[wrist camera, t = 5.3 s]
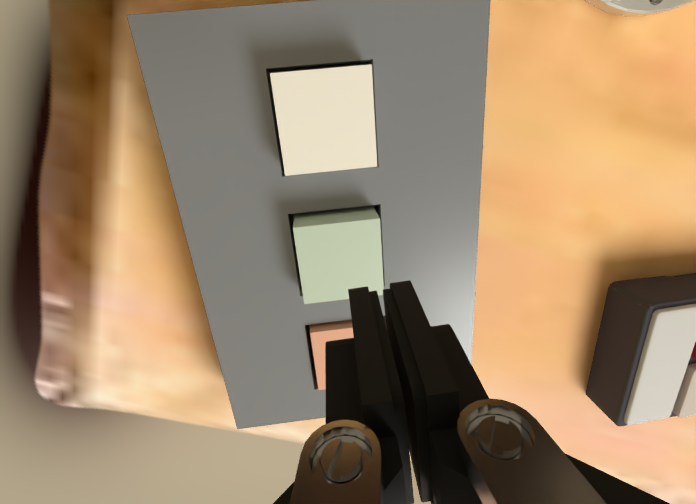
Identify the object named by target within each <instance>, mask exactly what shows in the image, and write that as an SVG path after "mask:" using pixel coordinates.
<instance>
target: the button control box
mask: <svg viewBox="0 0 696 504" xmlns="http://www.w3.org/2000/svg"><path fill="white" fill-rule="evenodd" d="M586 395H587V396H588V397H589V398H590V399H591V400H592V401H593V402H594V403H595V404H596V405H597V406H598V407H599V408H600V409H601V410H602V411H603V412H604V413H605V414H606V415H607V416H608V417H609V418H610V419H611V420H612V421H613V422H614V423H615V424H616V425H617V426H625V425H633V424H638V423H644V422H649V421H654V420H660V419H665V418H668V417H673V416H678V417H680V418H681V417H687V416H693V415H696V274H690V275H683V276H676V277H666V276H661V277H652V278H643V279H634V280H626V281H618V282H613V283H612V284H610V286H609V288H608V292H607V296H606V301H605V306H604V311H603V315H602V320H601V325H600V329H599V334H598V339H597V343H596V348H595V353H594V357H593V362H592V367H591V372H590V376H589V381H588V386H587V390H586Z"/></svg>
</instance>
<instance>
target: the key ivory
mask: <svg viewBox="0 0 696 504" xmlns="http://www.w3.org/2000/svg"><path fill="white" fill-rule="evenodd" d="M270 78H271V84H272V91H273V98H274V104H275V111H276V118H277V125H278V131H279V138H280V145H281V151H282V158H283V165H284V172H285V176H289V175H299V174H309V173H319V172H329V171H339V170H349V169H358V168H368V167H377V152H376V134H375V115H374V96H373V78H372V64H370V65H358V66H347V67H335V68H324V69H313V70H301V71H290V72H278V73H270Z"/></svg>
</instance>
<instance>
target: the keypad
mask: <svg viewBox="0 0 696 504" xmlns="http://www.w3.org/2000/svg"><path fill="white" fill-rule="evenodd" d="M489 17H490V0H312V1H300V2H287V3H274V4H261V5H249V6H236V7H223V8H210V9H198V10H185V11H172V12H160V13H147V14H134V15H127V18H128V22H129V25H130V29H131V33H132V37H133V40H134V44H135V48H136V52H137V55H138V59H139V63H140V67H141V70H142V74H143V78H144V82H145V85H146V89H147V93H148V97H149V100H150V104H151V108H152V112H153V115H154V119H155V123H156V127H157V130H158V134H159V138H160V141H161V145H162V149H163V153H164V156H165V160H166V164H167V168H168V171H169V175H170V179H171V183H172V186H173V190H174V194H175V198H176V201H177V205H178V209H179V213H180V216H181V220H182V224H183V228H184V231H185V235H186V239H187V243H188V246H189V250H190V254H191V257H192V261H193V265H194V269H195V272H196V276H197V280H198V284H199V287H200V291H201V295H202V299H203V302H204V306H205V310H206V314H207V317H208V321H209V325H210V329H211V332H212V336H213V340H214V344H215V347H216V351H217V355H218V359H219V362H220V366H221V370H222V373H223V377H224V381H225V385H226V388H227V392H228V396H229V400H230V403H231V407H232V411H233V415H234V418H235V422H236V426H237V429H242V428H249V427H257V426H264V425H272V424H279V423H287V422H294V421H302V420H309V419H317V418H324V417H326V389H324V390H318V383H317V376H316V369H315V363H314V356H313V349H312V342H311V335H310V324H319V323H327V322H335V321H343V320H352V318H351V310H350V301H349V299H344V300H336V301H327V302H319V303H310V304H304V299H303V293H302V286H301V279H300V273H299V266H298V259H297V252H296V246H295V239H294V232H293V224H294V217H295V214H296V213H305V212H315V211H324V210H334V209H343V208H352V207H362V206H371V205H373V207H374V209H375V210H376V212H377V214H378V216H379V217H380V227H381V246H382V264H383V283H384V289H390V283H394V282H401V281H408V280H410V281H411V283H412V285H413V287H414V290H415V292H416V294H417V296H418V299H419V301H420V303H421V306H422V308H423V310H424V312H425V315H426V317H427V319H428V321H429V324H430V326H438V325H445V324H449V325H450V326H451V327H452V329H453V331H454V332H455V334H456V336H457V338H458V340H459V342H460V344H461V346H462V348H463V350H464V352H465V353H466V355H467V357H468V359H469V361H470V363H471V359H472V340H473V321H474V302H475V283H476V264H477V245H478V226H479V207H480V188H481V169H482V150H483V131H484V112H485V93H486V74H487V55H488V36H489ZM370 64H372V78H373V96H374V115H375V134H376V152H377V167H368V168H358V169H349V170H339V171H329V172H319V173H309V174H299V175H289V176H285V172H284V165H283V158H282V151H281V145H280V138H279V131H278V125H277V118H276V111H275V104H274V98H273V91H272V84H271V78H270V73H278V72H290V71H301V70H313V69H324V68H335V67H347V66H358V65H370ZM378 297H379V301H380V305H381V309H382V313H383V317H384V321H385V325H386V317H385V308H384V299H383V295H378ZM386 329H387V327H386Z"/></svg>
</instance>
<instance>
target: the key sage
mask: <svg viewBox="0 0 696 504" xmlns="http://www.w3.org/2000/svg"><path fill="white" fill-rule="evenodd" d="M293 232H294V239H295V246H296V252H297V259H298V266H299V273H300V279H301V286H302V293H303V299H304V304H310V303H319V302H327V301H336V300H344V299H349V293H348V289H353V288H360V287H367V286H368V289H369V291H376V290H377V294H378V295H383V289H384V283H383V264H382V246H381V227H380V217H379V216H378V214H377V212H376V210H375V209H374V207H373V205H371V206H362V207H352V208H343V209H334V210H324V211H315V212H305V213H296V214H295V217H294V224H293Z"/></svg>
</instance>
